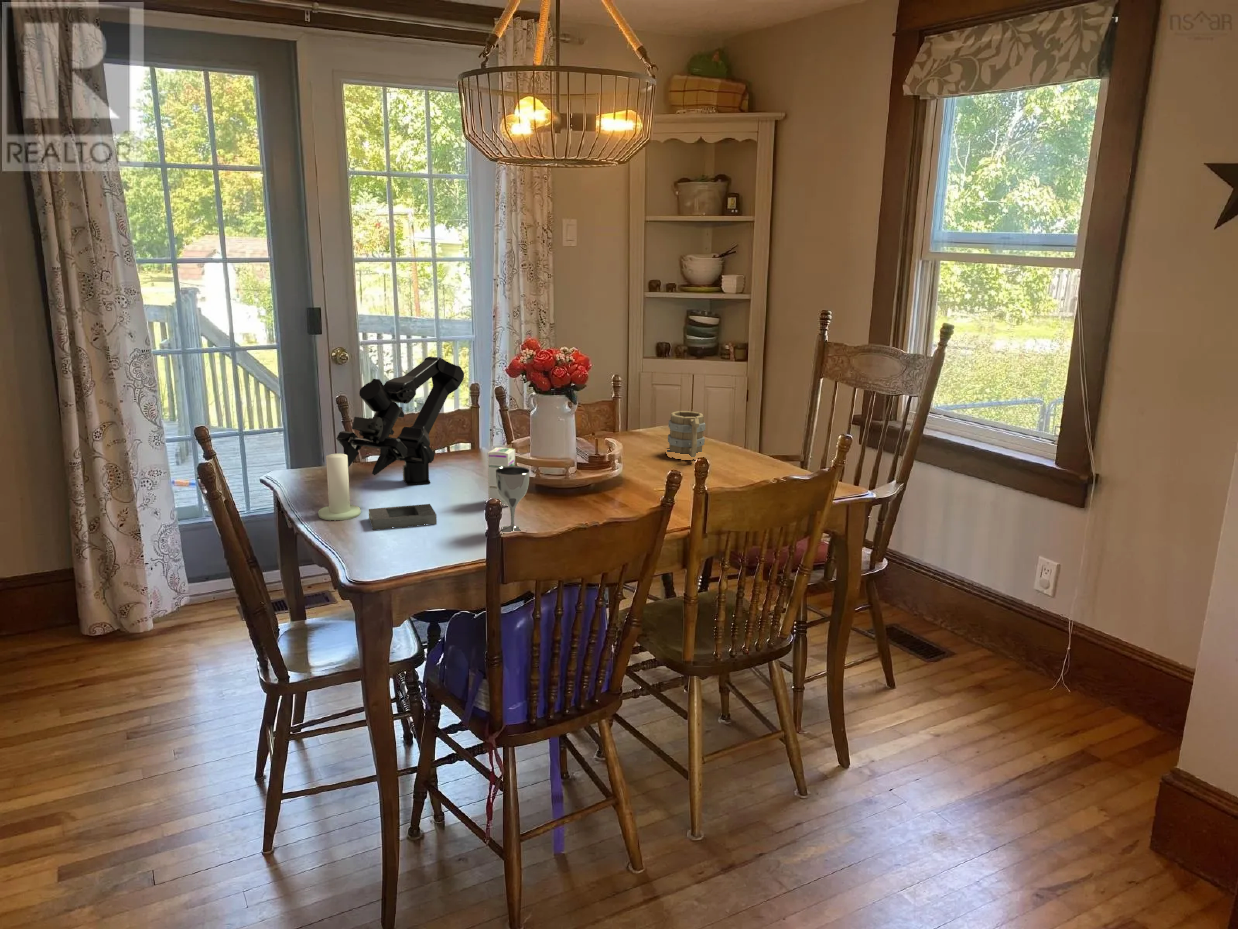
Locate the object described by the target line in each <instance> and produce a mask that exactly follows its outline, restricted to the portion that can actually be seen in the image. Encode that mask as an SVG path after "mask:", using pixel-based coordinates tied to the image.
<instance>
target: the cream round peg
mask: <svg viewBox="0 0 1238 929" xmlns="http://www.w3.org/2000/svg"><path fill="white" fill-rule="evenodd" d="M325 459H326V476H327V477H326V478H327V494H328V495H327V496H328V506H329V512H331V513H346V512H349V511H350V505H351V499H350V482H349V468H348V457H347V455H346V454H344V453H332V454H331V453H330V454H326V456H325Z"/></svg>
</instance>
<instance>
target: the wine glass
mask: <svg viewBox="0 0 1238 929" xmlns="http://www.w3.org/2000/svg"><path fill="white" fill-rule="evenodd" d="M529 483H530V469H529V468H527V467H525V466H518V465H515V466H505V467H500V468H498V469H496V484H497V489H498V492H499V494H500V496H501V497H502V498H503V499H504V500H505V501H506V502H507V504H508V506H509V507H508V508H509V512H510V513H509V514H510V526H509V525H504V526H500V527H501V531H502V532H511V531H521V530H520V529H519V526H520V525H517V526H515V513H516V509H517V508H516V507H517V506H518V504H519V502H520V501H521V500H522V499H523V498H524V497H525V495H526V494H527V493H528V488H529V485H530V484H529ZM502 527H503V529H502Z"/></svg>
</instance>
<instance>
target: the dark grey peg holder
mask: <svg viewBox="0 0 1238 929" xmlns="http://www.w3.org/2000/svg"><path fill="white" fill-rule="evenodd" d="M437 518H438V516H437V513H436V511H435V510H434V508H433V507H432V505H431V504H430V503H425V504H416V505H415V504H413V505H411V504H410V505H403V506H389V507H379V508H378V507H377V508H368V520H369V522H370V525H371V527H373V528H372V530H373V531H376V530H375V529H380V530H386V529H385V528H391V529H393V528H392V527H402V528H409V527H408V526H413V527H418V526H417V525H424V524H425V525H424V526H427V525H426V524H435V525H438V523H437V522H438V521H437V520H438V519H437Z"/></svg>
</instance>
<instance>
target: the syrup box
mask: <svg viewBox="0 0 1238 929" xmlns="http://www.w3.org/2000/svg"><path fill="white" fill-rule="evenodd" d="M505 466H516V449H515V448H511V447H510V448H509V447H494V448H493V449H491V450H490V451H488V452H487V478H488V479H487V480H488V481H487V483H488V484H487V486H488V487H487V488H488V490H487V491H488V500H489V499H490V498H496V499H499V500H501V502H502V504H503V506H502V507H505V506H507V505H508V504H507V502H506V501H505V500H504V499H503V498H502V497H501V496H500V494H499V492H498V489H497V484H496V469H498V468H500V467H505ZM504 504H505V506H504Z"/></svg>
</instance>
